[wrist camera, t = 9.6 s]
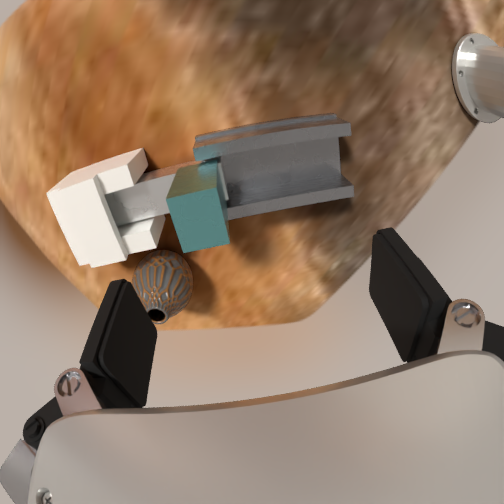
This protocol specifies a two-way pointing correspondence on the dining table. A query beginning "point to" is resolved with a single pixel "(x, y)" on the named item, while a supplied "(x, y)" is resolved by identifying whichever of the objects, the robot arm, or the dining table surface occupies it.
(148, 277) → the vase
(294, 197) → the guide channel
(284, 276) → the dining table surface
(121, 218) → the teal-tipped grey beam
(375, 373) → the robot arm
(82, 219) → the socket block
